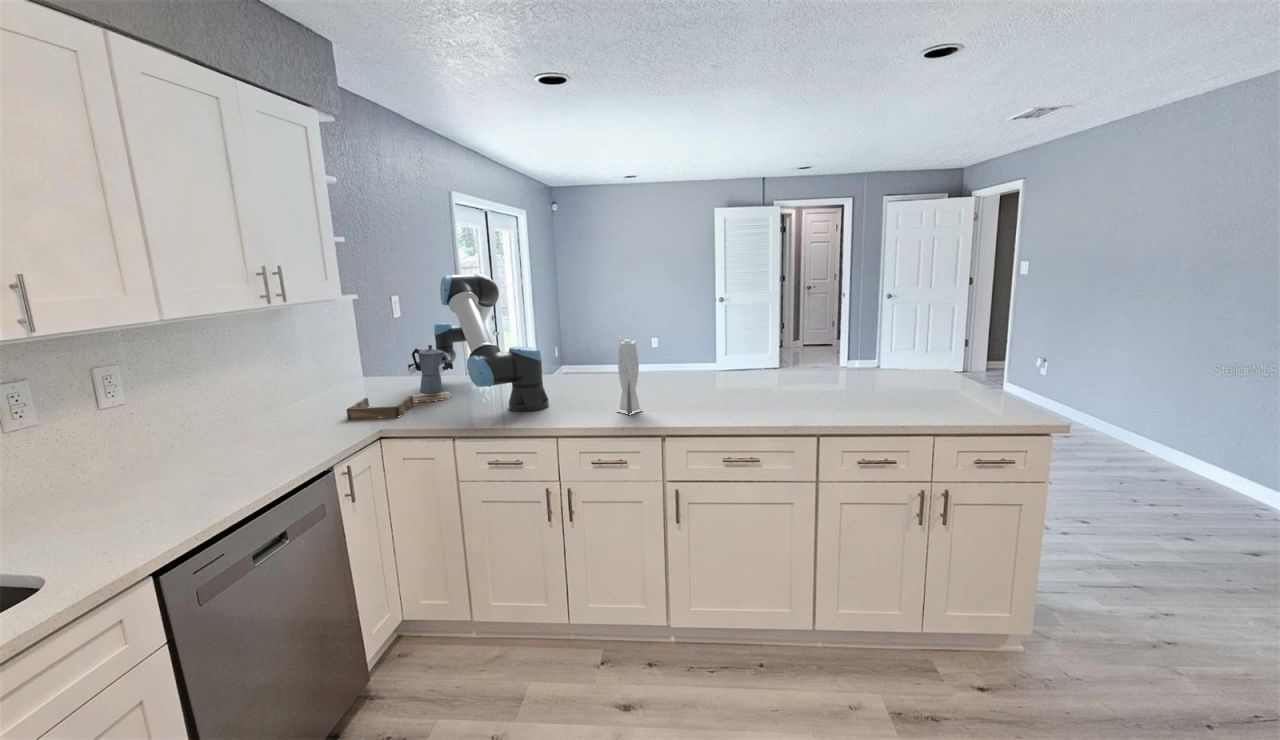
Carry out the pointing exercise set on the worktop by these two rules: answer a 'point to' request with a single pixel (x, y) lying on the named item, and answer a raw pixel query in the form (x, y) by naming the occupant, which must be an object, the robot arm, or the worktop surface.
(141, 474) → the worktop surface
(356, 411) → the frame
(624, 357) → the skyscraper
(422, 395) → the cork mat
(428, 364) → the moka pot
